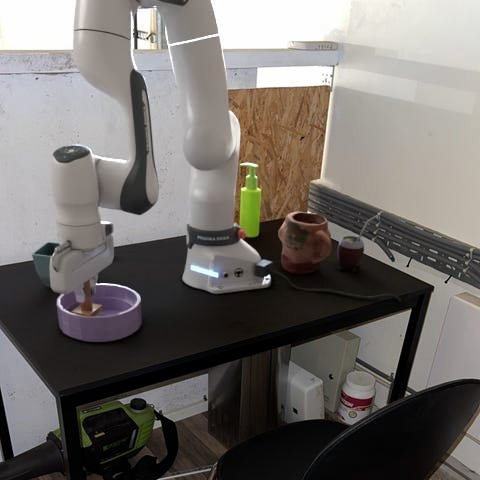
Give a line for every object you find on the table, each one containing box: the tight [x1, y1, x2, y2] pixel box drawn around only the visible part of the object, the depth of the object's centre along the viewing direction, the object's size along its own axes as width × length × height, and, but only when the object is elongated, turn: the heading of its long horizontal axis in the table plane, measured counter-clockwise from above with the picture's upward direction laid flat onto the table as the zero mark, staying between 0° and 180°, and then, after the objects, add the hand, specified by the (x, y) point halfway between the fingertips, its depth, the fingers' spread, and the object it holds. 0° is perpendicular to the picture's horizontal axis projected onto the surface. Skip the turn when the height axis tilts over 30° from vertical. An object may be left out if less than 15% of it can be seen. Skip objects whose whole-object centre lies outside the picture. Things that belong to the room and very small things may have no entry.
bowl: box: [56, 283, 143, 343], centre depth 138 cm, size 17×17×6 cm
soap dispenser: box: [238, 162, 262, 238], centre depth 188 cm, size 6×7×20 cm
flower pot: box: [31, 241, 60, 289], centre depth 154 cm, size 9×9×9 cm
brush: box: [71, 279, 102, 316], centre depth 137 cm, size 6×4×10 cm
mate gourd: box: [336, 214, 379, 273], centre depth 169 cm, size 8×8×15 cm
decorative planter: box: [277, 211, 333, 275], centre depth 167 cm, size 20×12×14 cm, turn 36°
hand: (86, 297), depth 137 cm, fingers closed on brush, 2 cm apart
